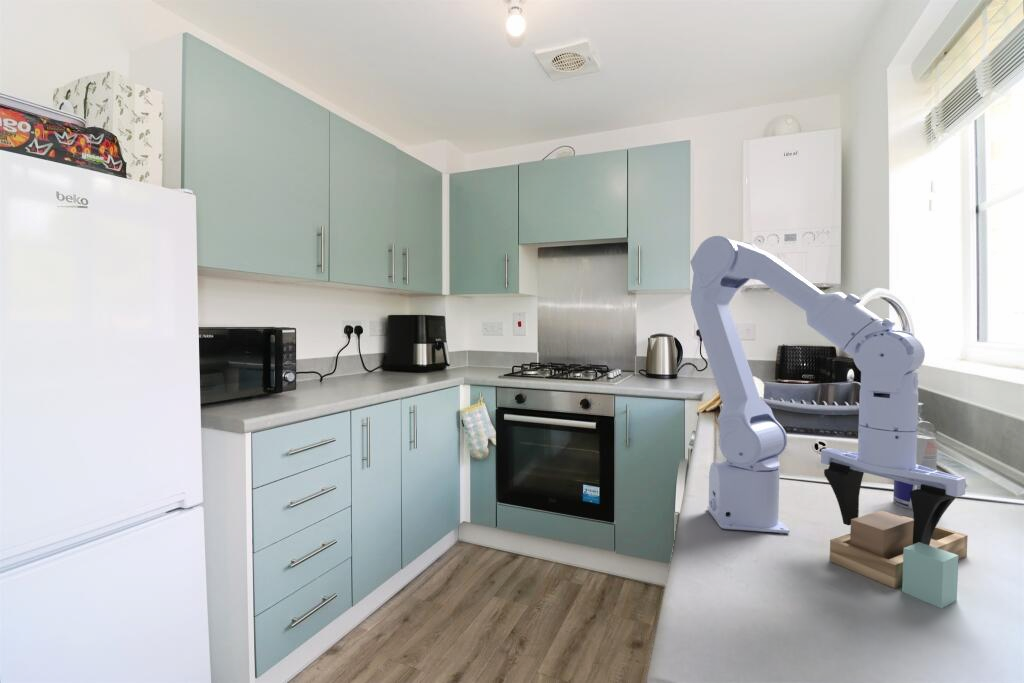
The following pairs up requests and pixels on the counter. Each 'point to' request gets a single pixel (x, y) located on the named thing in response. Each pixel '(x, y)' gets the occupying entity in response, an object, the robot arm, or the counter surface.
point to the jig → (892, 568)
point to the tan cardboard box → (882, 533)
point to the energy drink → (923, 458)
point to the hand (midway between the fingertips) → (883, 534)
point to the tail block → (930, 574)
